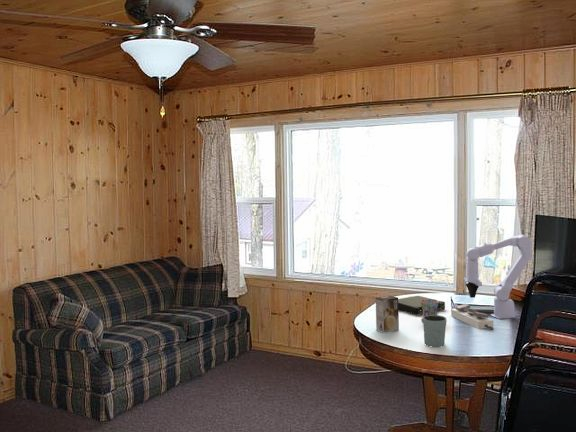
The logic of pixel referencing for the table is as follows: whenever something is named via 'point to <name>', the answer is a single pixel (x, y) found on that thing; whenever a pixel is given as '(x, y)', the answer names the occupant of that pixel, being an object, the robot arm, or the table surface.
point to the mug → (429, 307)
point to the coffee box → (387, 314)
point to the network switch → (415, 305)
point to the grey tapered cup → (434, 330)
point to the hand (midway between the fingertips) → (472, 297)
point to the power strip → (472, 319)
